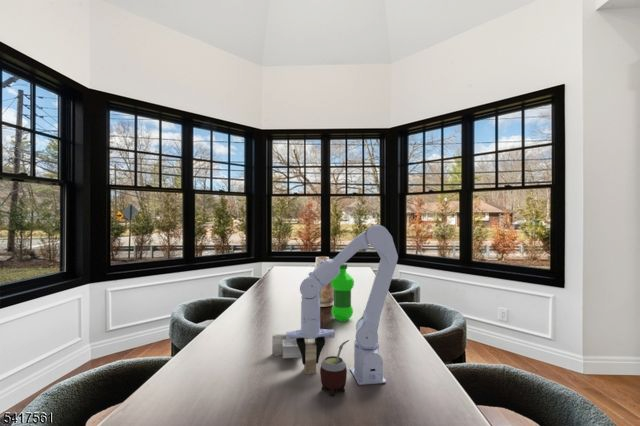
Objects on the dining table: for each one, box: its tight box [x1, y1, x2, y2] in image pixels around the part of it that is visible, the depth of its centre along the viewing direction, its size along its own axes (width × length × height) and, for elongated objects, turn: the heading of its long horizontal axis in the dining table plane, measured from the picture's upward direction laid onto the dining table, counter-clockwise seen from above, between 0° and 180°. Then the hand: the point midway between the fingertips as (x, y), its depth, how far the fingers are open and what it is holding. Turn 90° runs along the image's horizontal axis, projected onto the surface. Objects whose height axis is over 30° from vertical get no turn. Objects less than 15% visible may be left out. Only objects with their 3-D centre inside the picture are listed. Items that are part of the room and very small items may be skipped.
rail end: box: [303, 341, 317, 375], centre depth 96 cm, size 3×3×8 cm
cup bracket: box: [271, 333, 309, 359], centre depth 104 cm, size 8×12×6 cm
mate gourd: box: [319, 339, 350, 398], centre depth 85 cm, size 8×8×15 cm
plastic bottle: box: [330, 263, 355, 322], centre depth 145 cm, size 10×10×25 cm
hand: (310, 362), depth 96 cm, fingers closed on rail end, 3 cm apart
